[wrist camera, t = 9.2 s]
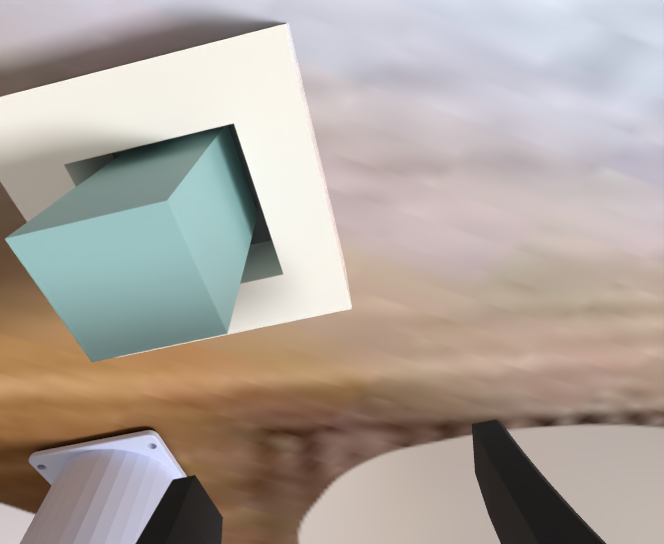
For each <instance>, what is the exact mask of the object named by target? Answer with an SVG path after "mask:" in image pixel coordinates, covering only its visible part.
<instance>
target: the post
mask: <svg viewBox="0 0 664 544" xmlns="http://www.w3.org/2000/svg"><path fill="white" fill-rule="evenodd" d="M257 215H258V212H257V209H256V206H255V203H254V200H253V197H252V194H251V191H250V188H249V185H248V183H247V180H246V177H245V174H244V171H243V168H242V165H241V162H240V159H239V156H238V153H237V150H236V147H235V144H234V141H233V138H232V135H231V133H230V130H229V127H228V125H225V126H221V127H216V128H212V129H208V130H204V131H200V132H196V133H192V134H188V135H183V136H179V137H175V138H171V139H167V140H163V141H159V142H155V143H150V144H146V145H142V146H138V147H134V148H130V149H128V150H126V151H125V152H124V153H122V154H121V155H119V156H118V157H117V158H115V159H114V160H113V161H111V162H110V163H108V164H107V165H106V166H104V167H103V168H101V169H100V170H99V171H97V172H96V173H95V174H93V175H92V176H90V177H89V178H88V179H86V180H85V181H84V182H82V183H81V184H79V185H78V186H77V187H75V188H74V189H72V190H71V191H70V192H68V193H67V194H66V195H64V196H63V197H61V198H60V199H59V200H57V201H56V202H55V203H53V204H52V205H50V206H49V207H48V208H46V209H45V210H43V211H42V212H41V213H39V214H38V215H37V216H35V217H34V218H32V219H31V220H30V221H28V222H27V223H26V224H24V225H23V226H21V227H20V228H19V229H17V230H16V231H14V232H13V233H12V234H10V235H9V236H8V237H6V238H5V240H6V242H7V243H8V245H9V246H10V247H11V249H12V250H13V252H14V253H15V254H16V256H17V257H18V259H19V260H20V261H21V263H22V264H23V266H24V267H25V269H26V270H27V271H28V273H29V274H30V276H31V277H32V278H33V280H34V281H35V283H36V284H37V285H38V287H39V288H40V290H41V291H42V293H43V294H44V295H45V297H46V298H47V300H48V301H49V302H50V304H51V305H52V307H53V308H54V310H55V311H56V312H57V314H58V315H59V317H60V318H61V319H62V321H63V322H64V324H65V325H66V326H67V328H68V329H69V331H70V332H71V334H72V335H73V336H74V338H75V339H76V341H77V342H78V343H79V345H80V346H81V348H82V349H83V350H84V352H85V353H86V355H87V356H88V358H89V359H90V360H91V362H95V361H100V360H105V359H109V358H114V357H119V356H124V355H128V354H133V353H138V352H143V351H148V350H152V349H157V348H162V347H167V346H171V345H176V344H181V343H186V342H190V341H195V340H200V339H205V338H209V337H214V336H219V335H224V334H228V330H229V326H230V322H231V318H232V314H233V310H234V306H235V302H236V298H237V294H238V290H239V286H240V282H241V278H242V274H243V270H244V266H245V262H246V258H247V254H248V250H249V246H250V243H251V239H252V235H253V231H254V227H255V223H256V219H257Z"/></svg>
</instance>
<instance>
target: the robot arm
mask: <svg viewBox="0 0 664 544" xmlns="http://www.w3.org/2000/svg"><path fill="white" fill-rule="evenodd" d="M472 433H473V448H474V462H475V474H476V477H477V480H478V483H479V486H480V489H481V493H482V496H483V498H484V501H485V505H486V508H487V511H488V514H489V517H490V519H491V521H492V524H493V526H494V528H495V531H496V533H497V535H498V538H499V540H500V542H501V544H606V543H605V542H604V541H603V540H602V539H601V538H600V537H599V536H598V535H597V534H596V533H595V532H594V531H593V530H592V529H591V528H590V527H589V526H588V524H587V523H586V522H585V521H584V520H583V519H582V518H581V517H580V516H579V515H578V514H577V513H576V512H575V511H574V510H573V508H572V507H571V506H570V505H569V504H568V503H567V502H566V501H565V500H564V499H563V497H562V496H561V495H560V494H559V493H558V492H557V491H556V490H555V489H554V487H553V486H552V485H551V484H550V483H549V482H548V481H547V479H546V478H545V477H544V476H543V475H542V474H541V473H540V472H539V470H538V469H537V468H536V467H535V466H534V464H533V463H532V462H531V460H530V459H529V458H528V457H527V456H526V454H525V453H524V452H523V451H522V449H521V448H520V447H519V446H518V444H517V443H516V442H515V440H514V439H513V438H512V437H511V435H510V434H509V432H508V431H507V430H506V428H505V427H504V425H503V424H502V423H501V422H500V421H498V420H492V421H486V422H481V423H475V424H472ZM29 463H30V464H31V465H32V466H33V467H34V468H35V469H36V470H37V471H38V472H39V473H40V474H41V475H42V476H43V477H44V478H45V479H46V480H47V481H48V483H49V484H50V485H51V488H50V490H49V491H48V493H47V495H46V497H45V499H44V500H43V502H42V504H41V506H40V508H39V510H38V511H37V513H36V515H35V517H34V519H33V521H32V523H31V524H30V526H29V528H28V530H27V532H26V533H25V535H24V537H23V539H22V541H21V542H20V544H221V539H222V520H223V517H222V516H221V514H220V513H219V511H218V509H217V508H216V506H215V505H214V503H213V502H212V500H211V499H210V497H209V496H208V494H207V493H206V491H205V490H204V488H203V487H202V485H201V483H200V482H199V480H198V479H197V477H196V476H195V475H194V476H189V477H187V476H186V475H185V473H184V472H183V470H182V469H181V467H180V466H179V464H178V463H177V461H176V460H175V458H174V457H173V455H172V454H171V452H170V451H169V449H168V448H167V446H166V445H165V443H164V442H163V440H162V439H161V437H160V436H159V434H158V433H157V432H155V431H153V430H146V431H141V432H136V433H130V434H125V435H120V436H115V437H110V438H105V439H99V440H94V441H89V442H84V443H79V444H74V445H69V446H63V447H58V448H53V449H48V450H43V451H38V452H34V453H32V454H31V456H30V458H29Z"/></svg>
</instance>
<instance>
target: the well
mask: <svg viewBox="0 0 664 544" xmlns="http://www.w3.org/2000/svg"><path fill="white" fill-rule="evenodd" d="M225 125H228V127H229V130H230V133H231V135H232V138H233V141H234V144H235V147H236V150H237V153H238V156H239V159H240V162H241V165H242V168H243V171H244V174H245V177H246V180H247V183H248V185H249V188H250V191H251V194H252V197H253V200H254V203H255V206H256V209H257V212H258V215H257V219H256V223H255V227H254V231H253V235H252V239H251V243H250V246H249V250H248V254H247V258H246V262H245V266H244V270H243V274H242V278H241V282H240V286H239V290H238V294H237V298H236V302H235V306H234V310H233V314H232V318H231V322H230V326H229V330H228V334H232V333H237V332H242V331H247V330H252V329H256V328H261V327H266V326H271V325H276V324H281V323H285V322H290V321H295V320H300V319H305V318H309V317H314V316H319V315H324V314H329V313H334V312H338V311H343V310H348V309H352V306H351V299H350V293H349V286H348V280H347V274H346V267H345V262H344V258H343V254H342V249H341V245H340V241H339V237H338V232H337V228H336V224H335V220H334V215H333V211H332V207H331V202H330V198H329V194H328V190H327V185H326V181H325V177H324V173H323V168H322V164H321V160H320V156H319V151H318V147H317V143H316V139H315V134H314V130H313V126H312V121H311V117H310V113H309V109H308V104H307V100H306V96H305V92H304V87H303V83H302V79H301V75H300V70H299V66H298V62H297V58H296V53H295V49H294V45H293V40H292V36H291V32H290V28H289V23H287V24H282V25H278V26H274V27H270V28H267V29H263V30H259V31H255V32H251V33H247V34H243V35H239V36H235V37H232V38H228V39H224V40H220V41H216V42H212V43H208V44H204V45H200V46H196V47H193V48H189V49H185V50H181V51H177V52H173V53H169V54H165V55H161V56H157V57H154V58H150V59H146V60H142V61H138V62H134V63H130V64H126V65H122V66H119V67H115V68H111V69H107V70H103V71H99V72H95V73H91V74H87V75H83V76H80V77H76V78H72V79H68V80H64V81H60V82H56V83H52V84H48V85H44V86H41V87H37V88H33V89H29V90H25V91H21V92H17V93H13V94H9V95H6V96H2V97H0V182H1V183H2V185H3V186H4V188H5V190H6V191H7V193H8V194H9V196H10V197H11V199H12V200H13V202H14V203H15V205H16V206H17V208H18V209H19V211H20V212H21V214H22V215H23V217H24V218H25V220H26V221H27V222H28V221H30V220H31V219H32V218H34V217H35V216H37V215H38V214H39V213H41V212H42V211H43V210H45V209H46V208H48V207H49V206H50V205H52V204H53V203H55V202H56V201H57V200H59V199H60V198H61V197H63V196H64V195H66V194H67V193H68V192H70V191H71V190H72V189H74V188H75V187H77V186H78V185H79V184H81V183H82V182H84V181H85V180H86V179H88V178H89V177H90V176H92V175H93V174H95V173H96V172H97V171H99V170H100V169H101V168H103V167H104V166H106V165H107V164H108V163H110V162H111V161H113V160H114V159H115V158H117V157H118V156H119V155H121V154H122V153H124V152H125V151H126V150H128V149H130V148H134V147H138V146H142V145H146V144H150V143H155V142H159V141H163V140H167V139H171V138H175V137H179V136H183V135H188V134H192V133H196V132H200V131H204V130H208V129H212V128H216V127H221V126H225ZM224 335H227V334H224ZM219 336H223V335H219ZM214 337H218V336H214ZM209 338H213V337H209ZM205 339H208V338H205ZM200 340H203V339H200ZM195 341H199V340H195ZM190 342H194V341H190ZM186 343H189V342H186ZM181 344H184V343H181ZM176 345H179V344H176ZM171 346H174V345H171ZM167 347H170V346H167ZM162 348H165V347H162ZM157 349H160V348H157ZM152 350H155V349H152ZM148 351H150V350H148ZM143 352H146V351H143ZM138 353H141V352H138ZM133 354H136V353H133ZM128 355H131V354H128ZM124 356H126V355H124ZM119 357H121V356H119ZM116 358H117V357H116Z"/></svg>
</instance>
